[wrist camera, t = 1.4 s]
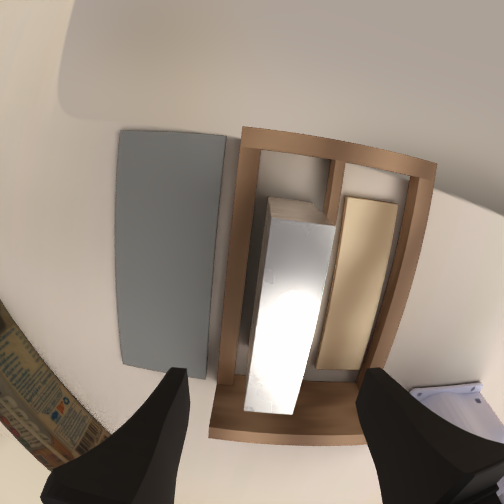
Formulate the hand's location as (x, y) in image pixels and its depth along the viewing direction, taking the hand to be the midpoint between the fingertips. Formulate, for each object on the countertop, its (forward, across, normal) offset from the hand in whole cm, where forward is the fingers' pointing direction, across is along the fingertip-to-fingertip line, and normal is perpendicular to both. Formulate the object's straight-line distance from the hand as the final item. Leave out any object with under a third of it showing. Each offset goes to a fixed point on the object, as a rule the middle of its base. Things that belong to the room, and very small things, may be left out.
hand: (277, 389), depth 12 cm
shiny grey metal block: (+10, -1, 0) cm, 11 cm away
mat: (+11, +7, 0) cm, 13 cm away
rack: (+10, -4, 0) cm, 11 cm away
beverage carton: (+12, +23, +14) cm, 29 cm away
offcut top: (+10, -6, +1) cm, 12 cm away
